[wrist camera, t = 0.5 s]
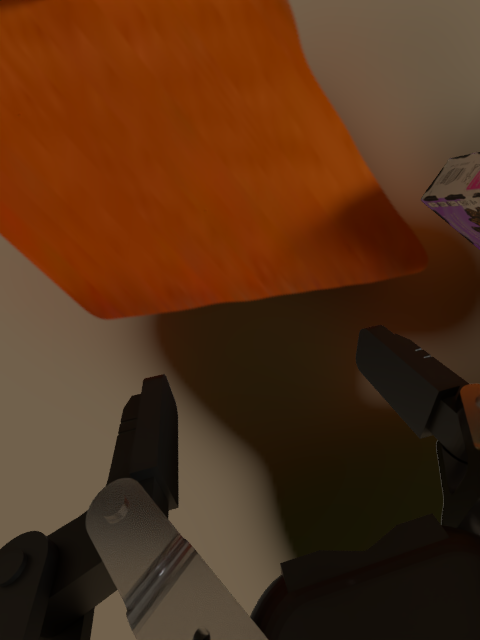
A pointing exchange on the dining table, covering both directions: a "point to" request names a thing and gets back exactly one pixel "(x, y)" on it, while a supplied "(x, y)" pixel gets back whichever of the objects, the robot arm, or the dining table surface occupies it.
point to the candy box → (458, 195)
